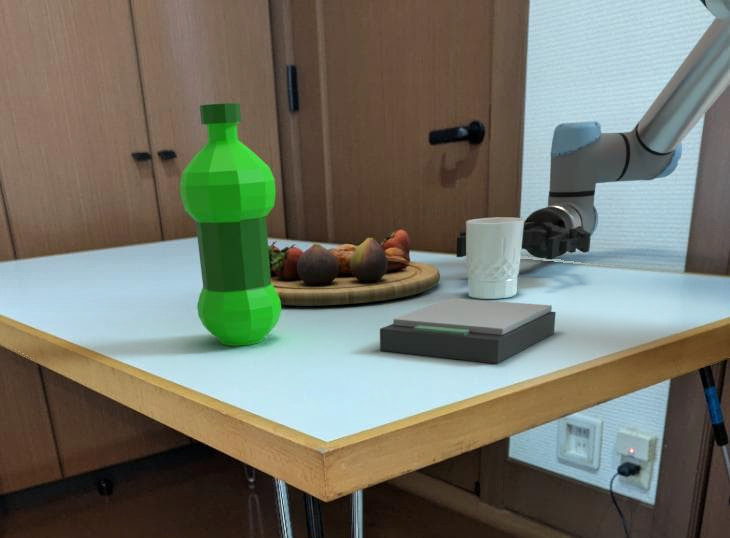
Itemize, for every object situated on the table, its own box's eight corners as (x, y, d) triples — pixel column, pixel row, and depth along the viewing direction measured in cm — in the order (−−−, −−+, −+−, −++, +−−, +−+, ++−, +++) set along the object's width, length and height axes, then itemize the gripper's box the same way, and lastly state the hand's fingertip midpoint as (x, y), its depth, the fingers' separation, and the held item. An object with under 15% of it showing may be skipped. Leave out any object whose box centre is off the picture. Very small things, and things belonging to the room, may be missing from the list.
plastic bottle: (269, 327, 102) (251, 105, 91) (295, 343, 93) (279, 99, 82) (192, 337, 99) (164, 109, 88) (211, 355, 90) (182, 103, 79)
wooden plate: (381, 266, 144) (380, 217, 141) (480, 290, 118) (482, 231, 114) (210, 287, 133) (204, 234, 130) (278, 318, 107) (273, 253, 103)
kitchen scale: (554, 333, 91) (556, 305, 90) (497, 363, 81) (498, 332, 79) (445, 323, 99) (445, 297, 97) (380, 350, 88) (379, 322, 87)
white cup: (453, 297, 114) (454, 222, 110) (483, 288, 119) (486, 216, 115) (501, 302, 109) (504, 223, 105) (530, 292, 114) (535, 217, 110)
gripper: (627, 257, 126) (588, 278, 110) (478, 253, 138) (424, 272, 122) (632, 205, 122) (593, 220, 107) (479, 206, 135) (424, 220, 119)
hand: (502, 248), depth 114 cm, fingers open, 13 cm apart
